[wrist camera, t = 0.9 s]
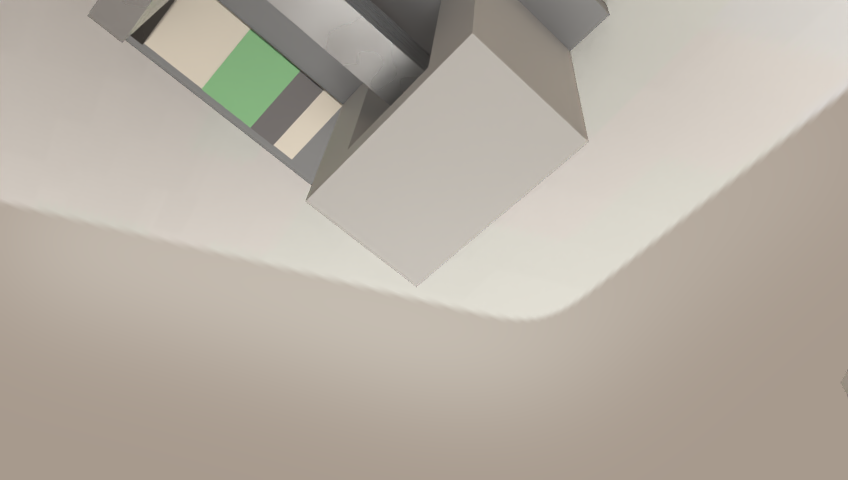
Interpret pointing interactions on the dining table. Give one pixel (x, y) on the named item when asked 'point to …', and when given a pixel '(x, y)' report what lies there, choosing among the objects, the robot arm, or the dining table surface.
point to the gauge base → (397, 112)
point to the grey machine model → (322, 21)
